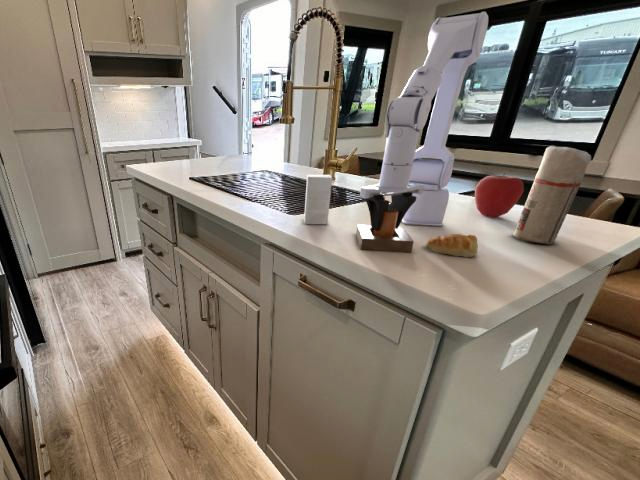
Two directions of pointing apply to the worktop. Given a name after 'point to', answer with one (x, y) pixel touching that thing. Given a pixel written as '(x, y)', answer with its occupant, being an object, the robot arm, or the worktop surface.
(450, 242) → the pastry
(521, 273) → the worktop surface
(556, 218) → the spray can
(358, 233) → the holder
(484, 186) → the apple
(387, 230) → the bottle
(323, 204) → the cosmetic box
